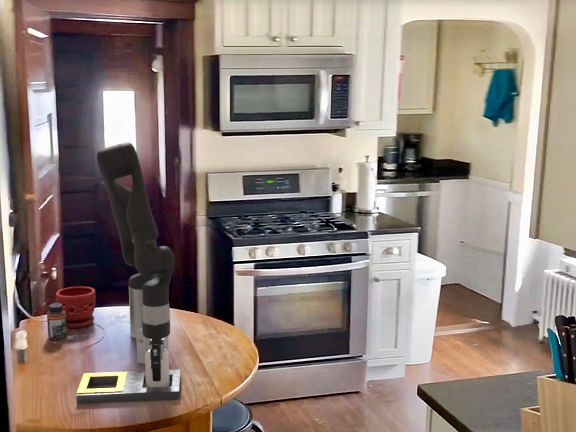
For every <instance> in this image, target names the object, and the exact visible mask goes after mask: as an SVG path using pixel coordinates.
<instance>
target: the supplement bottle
mask: <svg viewBox="0 0 576 432" xmlns="http://www.w3.org/2000/svg"><path fill="white" fill-rule="evenodd" d="M48 306H49V311H47V313H46V323H47V336H48V339H49V340H51V341H60V340H63V339H65V338H66V337H67V335H68V330H67V328H68V327H67V326H66V312H65V311H64V310H63V309H62V304H60V303H57V302H56V303H55V302H54V303H51V304H49V305H48Z"/></svg>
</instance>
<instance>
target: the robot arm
mask: <svg viewBox="0 0 576 432" xmlns="http://www.w3.org/2000/svg"><path fill="white" fill-rule="evenodd" d="M96 162H97V166H98V170H99V172H100V175H101V177H102V180H103V183H104V186H105V188H106V191H107V194H108V195H107V196H108V198H109V203H110V208H111V213H112V217H113V219H114V222H115V225H116V229H117V230H118V236H119V241H120V246H121V253H122V258H123V261H124V262H125V264H126V265H127V266H131V267H135V269H136V271H137V272H138V273H135V274H133V275H131V276H130V277H129V279H128V295H129V296H128V297H129V298H128V299H129V304H128V306H129V331H130V337H132V338H133V339H136V331H137V330H139V329H140V328H142V332H143V336H144V337H146V338H149V339H151V340H150V343H149V349H150V359H151V369H152V377H153V381H160V380H161V360H162V359H163V349H164V339H162V338H165V337H167V336H168V337H169V336H170V334H171V310H170V303H169V302H170V300H169V299H170V298H169V297H170V295H169V292H170V291H169V288H170V283H171V279H172V276H173V272H174V269H175V255H174V252H173V251H172V249H171V248H170V247H168V245H167V246H166V245H162V246H158V244H157V241H156V240H157V239H158V237H159V230H158V227H157V223H156V222H155V218H154V215H153V213H152V209H151V206H150V201H149V198H148V193H147V188H146V184H145V180H144V176H143V171H142V168H141V163H140V160H139V157H138V153H137V151H136V148H135V147H134V145H133V144H132V143H131V142H129V141H128V142H127V141H126V142H122V143H118V144H114V145H111V146H110V145H109V146H108V147H107V146H106V147H104V148H102V149H100V150H98V151H97V153H96ZM128 176H131V178H132V186H131V189H130V188H129V187H127V186H125V185H124V184H122V183H121V182H120V181H118V179H121V178H124V177H128ZM160 352H161V356H160ZM154 362H158V364H154Z"/></svg>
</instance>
